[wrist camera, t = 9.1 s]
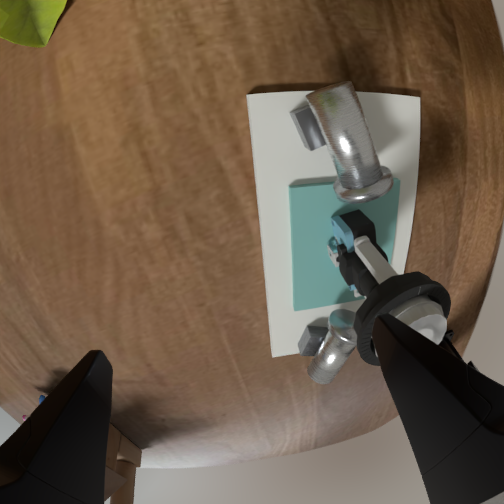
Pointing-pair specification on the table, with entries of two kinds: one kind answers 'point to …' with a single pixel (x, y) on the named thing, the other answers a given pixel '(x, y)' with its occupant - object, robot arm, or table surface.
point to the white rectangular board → (323, 207)
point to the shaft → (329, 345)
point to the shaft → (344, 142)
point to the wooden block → (120, 468)
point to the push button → (384, 285)
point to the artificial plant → (29, 20)
